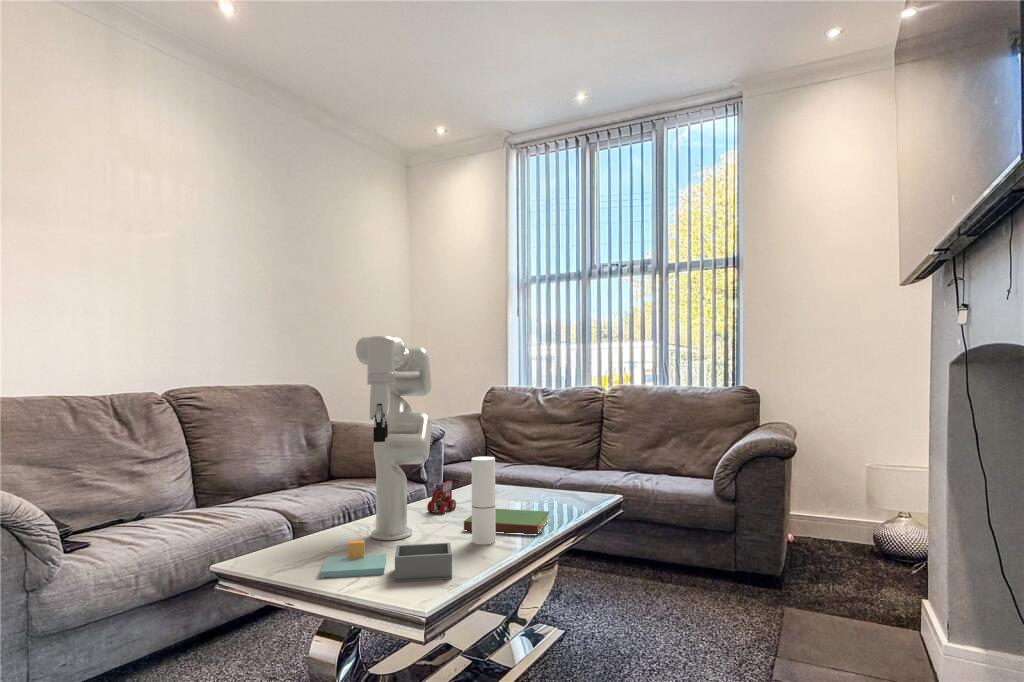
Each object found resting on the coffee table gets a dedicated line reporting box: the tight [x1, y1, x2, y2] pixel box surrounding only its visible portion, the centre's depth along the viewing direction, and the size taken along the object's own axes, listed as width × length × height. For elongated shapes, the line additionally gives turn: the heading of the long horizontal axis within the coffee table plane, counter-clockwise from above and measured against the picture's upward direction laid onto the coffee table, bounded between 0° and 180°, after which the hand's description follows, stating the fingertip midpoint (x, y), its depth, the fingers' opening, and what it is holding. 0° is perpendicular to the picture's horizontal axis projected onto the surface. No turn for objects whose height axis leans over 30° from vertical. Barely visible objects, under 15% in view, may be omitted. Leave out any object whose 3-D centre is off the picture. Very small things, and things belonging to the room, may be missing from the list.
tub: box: [394, 542, 453, 583], centre depth 150 cm, size 10×14×6 cm
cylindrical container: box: [471, 456, 497, 545], centre depth 178 cm, size 7×7×25 cm
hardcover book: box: [463, 508, 550, 535], centre depth 194 cm, size 25×19×4 cm
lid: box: [319, 540, 387, 578], centre depth 154 cm, size 12×16×6 cm
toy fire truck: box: [426, 480, 457, 514], centre depth 216 cm, size 7×12×10 cm, turn 153°
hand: (380, 439), depth 166 cm, fingers open, 9 cm apart
